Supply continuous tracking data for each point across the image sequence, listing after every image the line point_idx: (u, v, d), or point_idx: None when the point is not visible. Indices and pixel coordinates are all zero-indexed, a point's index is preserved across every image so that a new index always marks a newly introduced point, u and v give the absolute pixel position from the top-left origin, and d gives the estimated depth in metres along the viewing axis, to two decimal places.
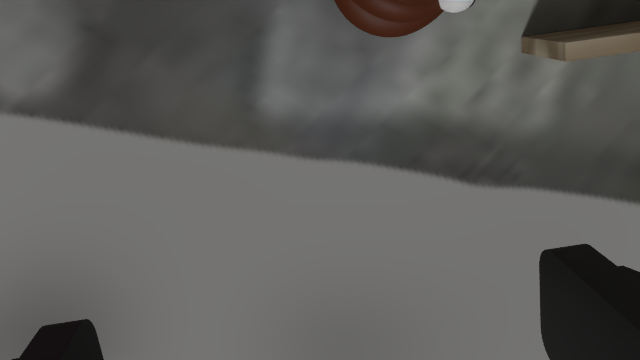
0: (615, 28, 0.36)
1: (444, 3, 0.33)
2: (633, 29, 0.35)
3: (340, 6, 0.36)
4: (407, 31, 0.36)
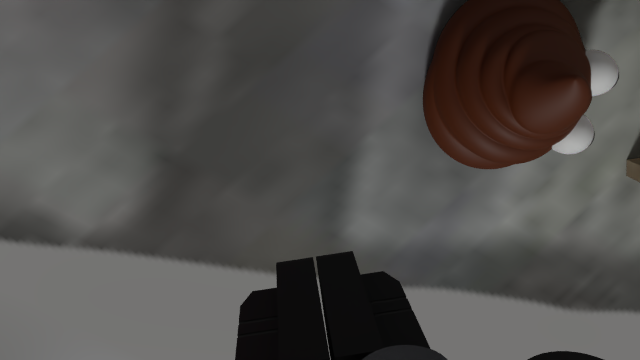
0: None
1: (558, 147, 0.30)
2: None
3: (437, 139, 0.33)
4: (508, 165, 0.33)
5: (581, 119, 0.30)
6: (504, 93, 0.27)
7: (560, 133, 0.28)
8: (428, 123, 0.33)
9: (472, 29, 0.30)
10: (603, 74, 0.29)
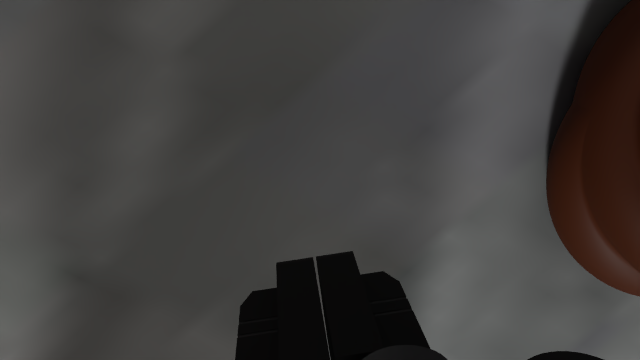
0: None
1: None
2: None
3: (575, 248, 0.18)
4: None
5: None
6: None
7: None
8: (559, 219, 0.18)
9: None
10: None
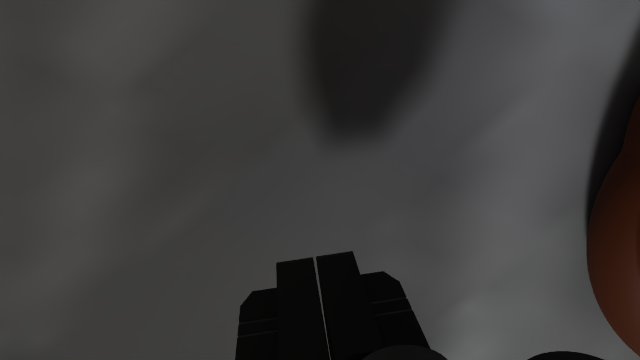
0: None
1: None
2: None
3: (625, 331, 0.14)
4: None
5: None
6: None
7: None
8: (604, 295, 0.14)
9: None
10: None
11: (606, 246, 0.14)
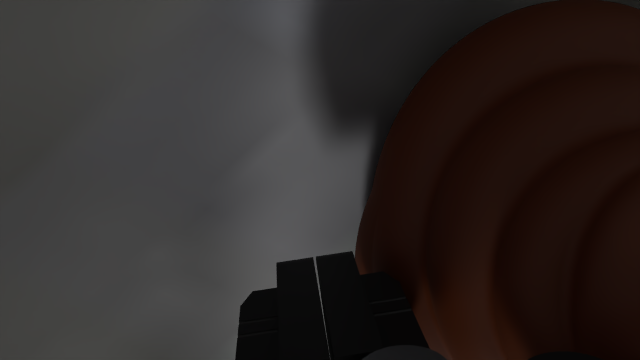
0: None
1: None
2: None
3: None
4: None
5: None
6: None
7: None
8: None
9: (468, 127, 0.11)
10: None
11: None
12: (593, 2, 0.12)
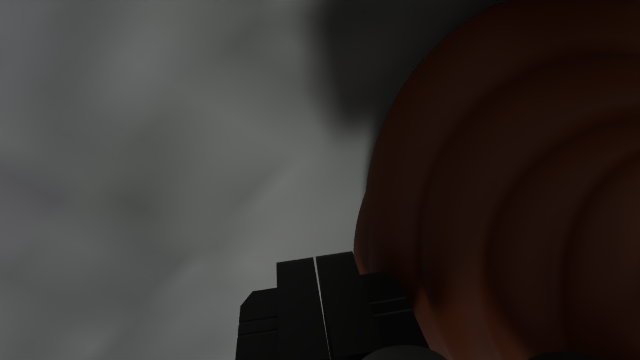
0: None
1: None
2: None
3: None
4: None
5: None
6: None
7: None
8: None
9: (455, 124, 0.11)
10: None
11: None
12: None
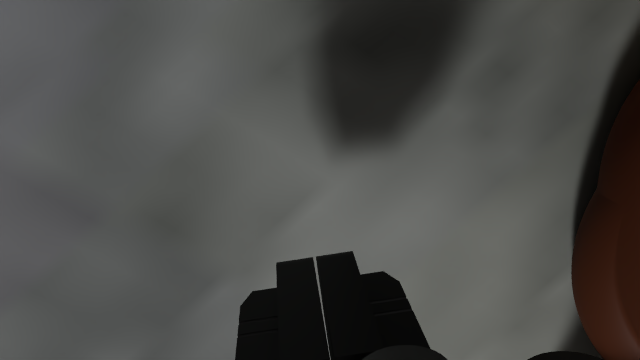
0: None
1: None
2: None
3: None
4: None
5: None
6: None
7: None
8: (592, 331, 0.14)
9: None
10: None
11: (588, 285, 0.14)
12: None
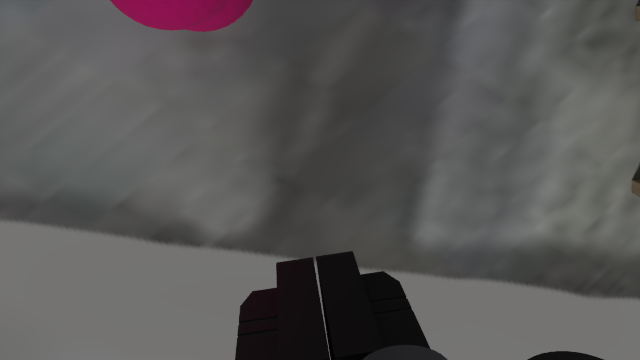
0: None
1: None
2: None
3: None
4: None
5: None
6: None
7: None
8: None
9: None
10: None
11: None
12: None
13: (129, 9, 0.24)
